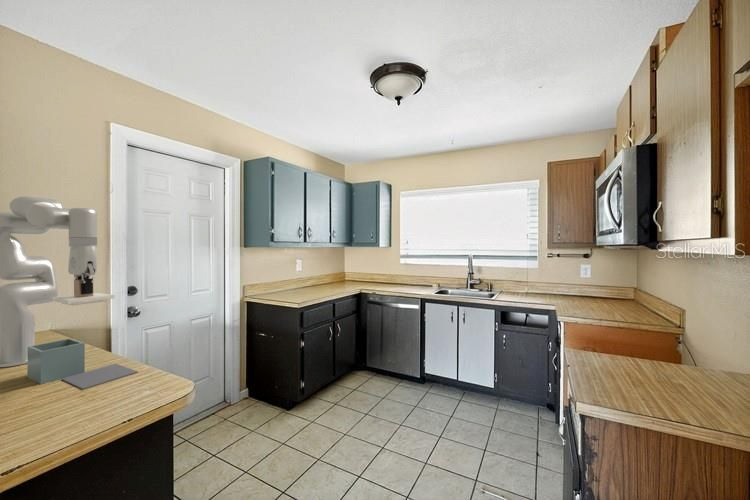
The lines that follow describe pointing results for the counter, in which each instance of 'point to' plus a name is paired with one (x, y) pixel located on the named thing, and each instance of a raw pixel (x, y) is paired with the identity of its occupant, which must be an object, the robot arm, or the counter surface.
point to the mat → (99, 376)
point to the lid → (82, 296)
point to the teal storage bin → (56, 360)
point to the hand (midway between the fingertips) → (83, 293)
